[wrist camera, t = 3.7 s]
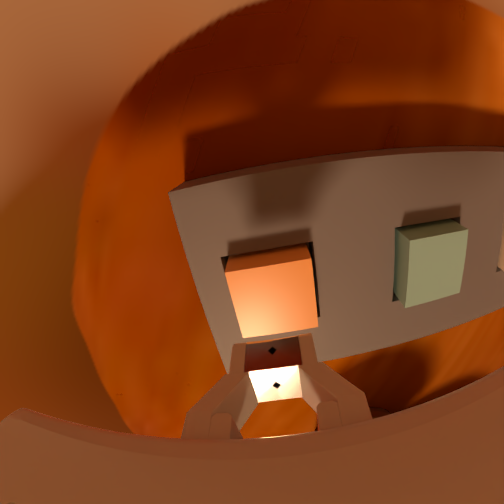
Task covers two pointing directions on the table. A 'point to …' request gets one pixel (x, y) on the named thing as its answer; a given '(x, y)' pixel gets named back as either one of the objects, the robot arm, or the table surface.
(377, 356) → the table surface
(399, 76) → the table surface
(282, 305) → the orange button
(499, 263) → the cream button
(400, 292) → the olive green button
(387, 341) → the button board
